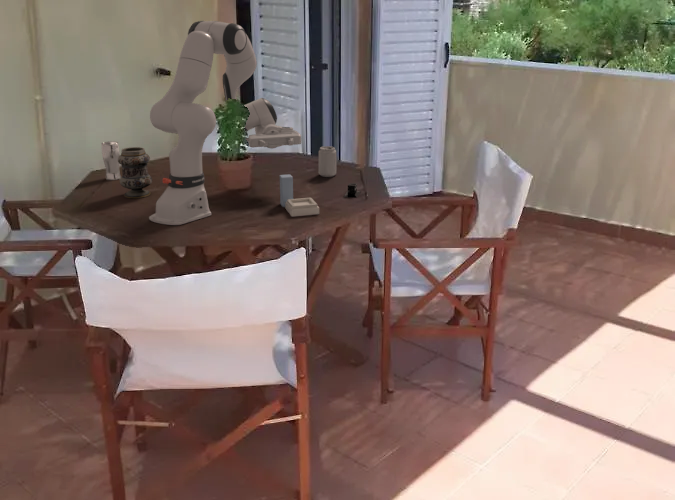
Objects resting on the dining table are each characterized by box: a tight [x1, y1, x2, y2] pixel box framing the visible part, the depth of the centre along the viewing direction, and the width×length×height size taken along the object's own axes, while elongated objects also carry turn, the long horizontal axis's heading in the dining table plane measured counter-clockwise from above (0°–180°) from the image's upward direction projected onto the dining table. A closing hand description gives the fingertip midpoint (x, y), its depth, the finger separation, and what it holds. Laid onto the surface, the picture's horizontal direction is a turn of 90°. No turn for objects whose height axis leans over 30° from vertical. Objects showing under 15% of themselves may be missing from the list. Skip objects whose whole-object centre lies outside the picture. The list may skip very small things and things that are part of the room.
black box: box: [343, 182, 361, 199], centre depth 286 cm, size 12×7×5 cm, turn 169°
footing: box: [284, 197, 320, 217], centre depth 266 cm, size 10×10×4 cm
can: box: [318, 145, 337, 178], centre depth 312 cm, size 8×8×12 cm
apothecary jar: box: [118, 146, 153, 199], centre depth 283 cm, size 12×12×18 cm
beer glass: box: [101, 140, 122, 181], centre depth 307 cm, size 7×7×15 cm
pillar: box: [279, 173, 294, 208], centre depth 272 cm, size 4×4×11 cm
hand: (278, 144), depth 277 cm, fingers open, 8 cm apart
